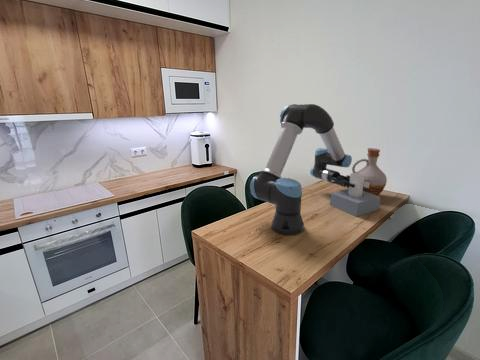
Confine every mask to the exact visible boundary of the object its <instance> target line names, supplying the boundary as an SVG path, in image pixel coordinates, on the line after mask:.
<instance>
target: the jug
mask: <svg viewBox="0 0 480 360" xmlns="http://www.w3.org/2000/svg"><path fill="white" fill-rule="evenodd" d="M380 152H381V149H380V148H373V147H372V148H371V147H368V148H367V153H366V155H367V158H361V159H359V160H356V162H355V163H353V164H352V168H351V171H352V173H356V172H357V173H361V174H365V175H364V182H367V183H369V188H366V187H363V191H365V192H368V193H371V194H374V195H377V196H379V195H380V194H381V193H382V192H383V191H384V189H385V187H386V185H387V183H388V182H387V181H388V179H387V176H386V174H385V173H384V171H383V170H381V169H380V168H379V166H378V165H377V162H378V159H379V157H380ZM361 162H366V165H365V166H364V167H362V168H361V169H359V170H358V171H356V170H355V168H356V166H357V165H358V164H360V163H361Z"/></svg>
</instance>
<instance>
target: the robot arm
mask: <svg viewBox="0 0 480 360" xmlns="http://www.w3.org/2000/svg"><path fill="white" fill-rule="evenodd" d="M279 122H280V127H281V131H280V132H279V135H278V138H277V141H276V142H275V145H274V147H273V149H272V151H271V154H270V157H269V159H268V161H267V163H266V166H265V167H264V169H261V171H260V173H259V174H258V175H255V176H253V177H252V179H251V180H250V184H249V190H250V193H251V195H252V197H253V198H254V199H258V200H260V201H262V202H263V201H264V202H267V203H270V204H272V205H275V212H274V216H273V218H272V221H271V229H272V230H273V231H274V232H275V233H277V234H280V235H285V236H295V235H299V234H300V233H302V232H303V231H304V228H305V224H304V221H303V217H302V213H301V210H302V194H303V191H302V184H301V183H300V182H299V181H298V180H296V179H294V178H289V177H288V178H287V177H282V173H283V170H284V168H285V166H286V164H287V161H288V159H289V157H290V154H291V151H292V149H293V147H294V144H295V142H296V140H297V137H298V135H301V134H302V133H303V131H304V129H306V128H307V129H313V130H314V131H315V132H316V134H319V136H320V139H321V140H322V142H323V144H324V146H325V147H319V148H316V149H315V152H314V164H313V166H311V167H310V170H309V172H310V175H311V176H312V177H314V178H315V179H320V180H322V181H324V182H326V183H331V184H335V185H338V186H341V187H343V188H346V189H349V186H350V187H352V188H355V189H358V190H361V185H360V184H356V183H353V182H350V174H349V175H348V174H346V176H345V175H342V174H341V173H340V172H339V171H337V170H333V169H329V168H327V166H328V165H329V166H335V167H340V168H349V167H350V166H351V164H352V159H353V158H352V155H350V154H346V153H345V151H344V149H343V147H342V144H341V142H340V140H339V137H338V135H337V133H336V130H335V128H334V126H335V123H334V121H333V118H332V117H331V115H330V114H329V113H328V112H327V110H325V109H324V108H323V107H321V106H320V105H317V104H314V103H308V104H306V103H305V104H297V103H293V104H288V105H286V106H284V107H283V108H282V110H281V112H280V114H279ZM363 187H366V188H369V183H367V182H364V183H363Z"/></svg>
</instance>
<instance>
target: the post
mask: <svg viewBox="0 0 480 360" xmlns="http://www.w3.org/2000/svg"><path fill="white" fill-rule="evenodd" d="M355 172H356V173H353V172H352V173H350V174H349V176H350V182H353V183H356V184H360V185H361V190H358V189H355V188H352V187H350V186H349V188H348V189H349V191H348V195H350V196H352V197H355V198H357V197H361V196H362V191H363V183H364V175H365V174H361V173H357V172H358V171H355Z"/></svg>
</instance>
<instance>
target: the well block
mask: <svg viewBox="0 0 480 360" xmlns="http://www.w3.org/2000/svg"><path fill="white" fill-rule="evenodd" d="M348 191H349V188H345V189H342V190H337V191H333V192H331V193H330V201H329V205H330V206H331V207H333V208H336V209H338V210H339V211H342V212H345V213H346V214H349V215H352V216H354V217H359V216H363V215H366V214H368V213H372V212H375V211H378V210H380V204H381V196H379V195H378V196H377V195H374V194H371V193H368V192H365V191H362V196H361V197H357V198H355V197H352V196H350V195H348Z"/></svg>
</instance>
